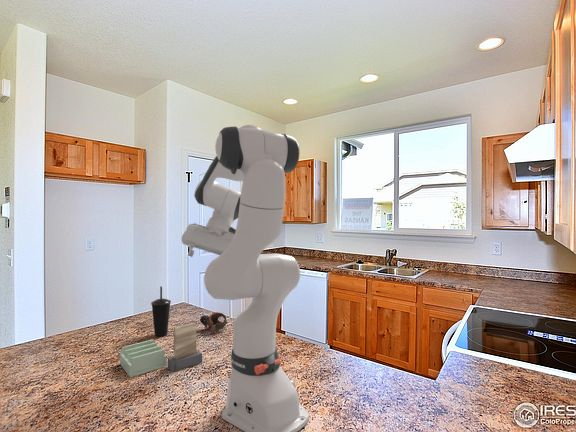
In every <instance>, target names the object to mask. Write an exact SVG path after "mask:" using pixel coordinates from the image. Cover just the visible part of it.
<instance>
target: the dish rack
mask: <svg viewBox="0 0 576 432" xmlns="http://www.w3.org/2000/svg"><path fill="white" fill-rule="evenodd" d="M154 341H155V340H154V338H153V339H149V340H145V341H140V342H138V343H133V344H130V345H129V344H128V345H125V346H122V347H121V353H120V354H119V364H120V366H121V367H122V369H123V370H124V371H125V372H126V374H127V375H128V377H129V378H133V377H137V376H140V375H144V374H145V373H150V372H152V371H156V370H159V369H163V368H165V367H168V355H167V354H165V353H166V349H165V348H163V349H162V346H161V345H158V342H154Z"/></svg>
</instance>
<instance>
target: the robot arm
mask: <svg viewBox="0 0 576 432" xmlns="http://www.w3.org/2000/svg"><path fill="white" fill-rule="evenodd" d="M214 145H215V149H214V150H215V155H216V156H215V157H214V158H213V160H212V162H211V163H210V164H209V167H208V168H207V170H206V171H205V174H204V175H203V178H202V180H200V181H199V182H198V183H197V185H196V188H195V190H194V194H193V196H194V198H195V200H196V202H197V204H198V205H201V206H205V207H208V208H210V209H213V211H212V215H211V217H209V219H208V221H207V223H206V225H205V226H204V225H201V224H198V223H190V224H188V226H187V227H186V230H185V231H184V232H183V234H181V235H182V236H181V244H183V245H186V246H188V249H189V250H188V253H187V256H188V257H191V258H192V257H193V256H194V255H195V250H193V249H194V248H195V249H198V250H201V251H205V252H208V253H211V254H215V255H218V256H216V257H215V258H214V259H212V261H210V263H209V264H208V265H207V266H206V269H205V272H204V278H203V282H204V286H205V290H206V291H207V293H208V294H209V295H210V297H212V298H213V299H216V300H226V301H236V300H243V299H250V298H252V300H251V302H250V304H249V305H248V307H246V308H245V309H244V310H241V312H239V313H238V315H236V317H235V320H234V321H233V325H232V327H233V329H232V330H233V331H232V333H233V334H232V341H233V342H232V349H231V355H230V361H231V364H230V365H231V367H232V369H231V372H230V375H229V377H228V380H227V388H226V400H225V407H224V408H223V410H222V412H221V418H222V419H223V420H224V421H226V422H228V423H229V424H231V425H233V426H234V427H237V428H238V429H240V430H242V431H243V432H299V431H300V430H301V429H302V428H305V426H306V425H307V424H308V422H309V420H310V413H309V412H308V411H307V409H306V408H305V407H303V406H302V405H301V404H300V399H299V393H298V390H297V389H296V383H295V381H294V380H292V379H289V377H288V375H287V373H285V371H284V370H283V368H282V366H281V363H282V362H283V357H280V356H279V352H278V349H277V347H276V341H277V340H276V338H277V337H276V335H277V323H278V322H277V321H278V316H279V314H280V311H281V308H282V306H283V304H284V302H285V301H286V299H287V298H288V296H289V295H290V294H291V292H292V291H293V290H295V289H296V288H297V287H298V284H299V282H300V279H301V269H300V265H299V262H297V259H296V258H294V256H292V255H288V254H282V253H263V251H264V250H265V249H266V248H267V247H269V246H270V245H272V244H274V243H276V241H277V240H278V239H279V238H280V237H281V234H282V230H283V229H282V228H283V227H282V226H283V220H284V213H285V202H286V174H289V173H292V172H293V171H294V170H295V168H296V167H297V166H298V165H299V164H298V163H299V159H300V145H299V143H298V141H297V139H296V138H295V137H293V136H291V135H289V134H286V133H282V134H281V133H278V132H273V131H269V130H263V129H262V128H260V127H259V126H256V125H253V124H245V125H242V126H241V127H237V126H227V127H223V128H222V129H221V130H220V131H219V133H218V136H217V138H216V140H215V144H214ZM216 179H226V180H230V181H235V182H242V185H241V190H240V191H238V190H236V189H235V188H233V187H229V186H227V185H225V184H223V183H220V182H218V181H216ZM235 220H237V224H236V228H234V227H232V225H233V223H234V222H235Z"/></svg>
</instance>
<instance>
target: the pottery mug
mask: <svg viewBox="0 0 576 432" xmlns="http://www.w3.org/2000/svg"><path fill="white" fill-rule="evenodd" d="M221 317H222V318H223V321H222V320H221V321H220V320H219V318H221ZM199 321H200V323H201V325H203V326H204V327H205V329H207V328H211V329H210V333H211V334H215V333H216V332H218V331H220V330H222V329H224V328H225V327H226V326H227V324H228V321H227V316H226V315H225V314H224V313H223V312H213V313H211V314H210V315H209V316H208V315H202V316H201V317H200V318H199Z"/></svg>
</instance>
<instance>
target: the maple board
mask: <svg viewBox="0 0 576 432" xmlns="http://www.w3.org/2000/svg"><path fill="white" fill-rule="evenodd" d="M196 349H197V323H196V322H190V323H186V324H181V325H177V326H174V327H173V356H174V360H178V359H181V358H184V357H188V356H191V355H194V354H196Z"/></svg>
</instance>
